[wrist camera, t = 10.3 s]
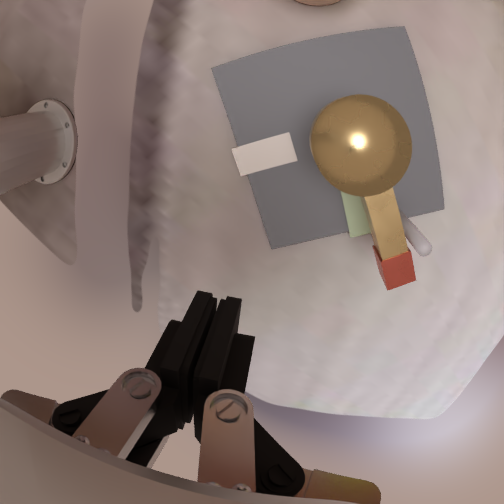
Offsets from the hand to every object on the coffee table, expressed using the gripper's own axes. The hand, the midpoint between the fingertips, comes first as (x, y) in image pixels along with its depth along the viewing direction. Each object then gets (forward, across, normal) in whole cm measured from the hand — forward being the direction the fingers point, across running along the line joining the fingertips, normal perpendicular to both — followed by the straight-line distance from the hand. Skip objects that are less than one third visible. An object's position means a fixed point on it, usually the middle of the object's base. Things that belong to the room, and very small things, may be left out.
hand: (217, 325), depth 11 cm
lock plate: (+25, -7, -6) cm, 27 cm away
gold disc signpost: (+17, -9, -3) cm, 19 cm away
